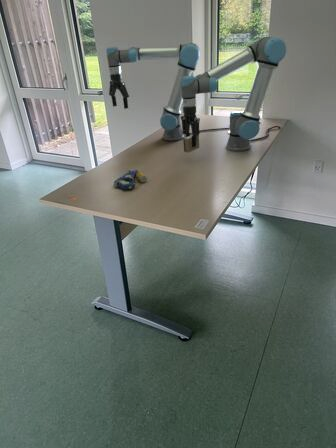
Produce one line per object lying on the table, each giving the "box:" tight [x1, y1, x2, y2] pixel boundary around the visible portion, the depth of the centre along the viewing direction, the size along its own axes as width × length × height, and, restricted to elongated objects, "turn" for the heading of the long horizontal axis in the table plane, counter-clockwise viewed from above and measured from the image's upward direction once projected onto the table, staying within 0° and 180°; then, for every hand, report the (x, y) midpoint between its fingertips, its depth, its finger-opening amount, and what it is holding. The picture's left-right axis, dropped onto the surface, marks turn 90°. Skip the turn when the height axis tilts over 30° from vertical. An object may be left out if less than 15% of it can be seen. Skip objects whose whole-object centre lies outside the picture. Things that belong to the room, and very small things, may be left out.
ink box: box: [182, 134, 200, 154], centre depth 200 cm, size 10×4×8 cm, turn 133°
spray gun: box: [112, 168, 148, 191], centre depth 183 cm, size 21×4×15 cm
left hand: (120, 107), depth 229 cm, fingers open, 13 cm apart
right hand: (191, 145), depth 201 cm, fingers closed on ink box, 4 cm apart
